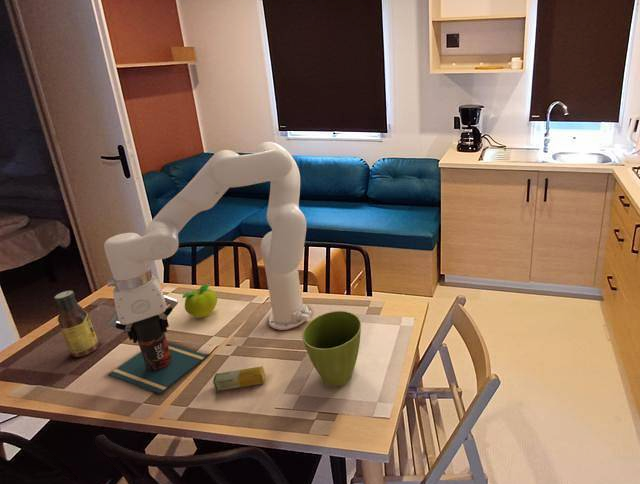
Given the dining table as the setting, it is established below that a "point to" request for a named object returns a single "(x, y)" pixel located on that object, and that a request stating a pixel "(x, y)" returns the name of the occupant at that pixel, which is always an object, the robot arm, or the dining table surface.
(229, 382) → the medication box
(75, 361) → the dining table surface
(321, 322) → the flower pot
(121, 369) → the cloth
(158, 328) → the deodorant
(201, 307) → the fruit
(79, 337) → the sauce bottle
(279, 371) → the dining table surface
